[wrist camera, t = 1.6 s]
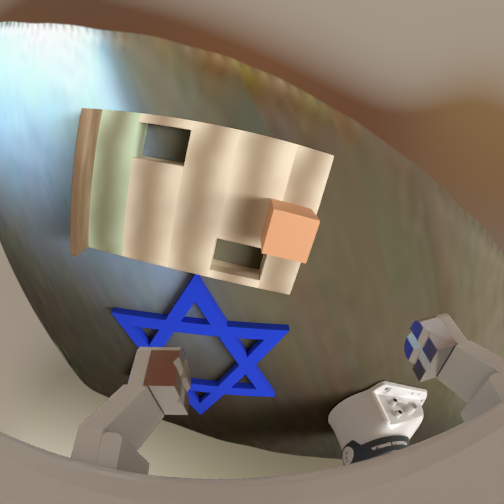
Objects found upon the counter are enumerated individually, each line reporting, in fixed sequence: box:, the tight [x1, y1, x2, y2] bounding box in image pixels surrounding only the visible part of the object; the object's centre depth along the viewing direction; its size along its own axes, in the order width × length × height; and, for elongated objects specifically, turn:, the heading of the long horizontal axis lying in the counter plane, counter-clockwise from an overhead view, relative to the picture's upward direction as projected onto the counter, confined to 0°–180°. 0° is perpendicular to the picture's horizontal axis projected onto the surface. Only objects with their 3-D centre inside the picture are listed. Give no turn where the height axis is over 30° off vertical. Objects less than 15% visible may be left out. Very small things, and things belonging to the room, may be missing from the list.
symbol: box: [111, 274, 289, 415], centre depth 43 cm, size 26×2×30 cm
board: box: [70, 108, 334, 295], centre depth 31 cm, size 27×17×6 cm, turn 76°
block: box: [261, 198, 320, 263], centre depth 29 cm, size 4×4×4 cm
